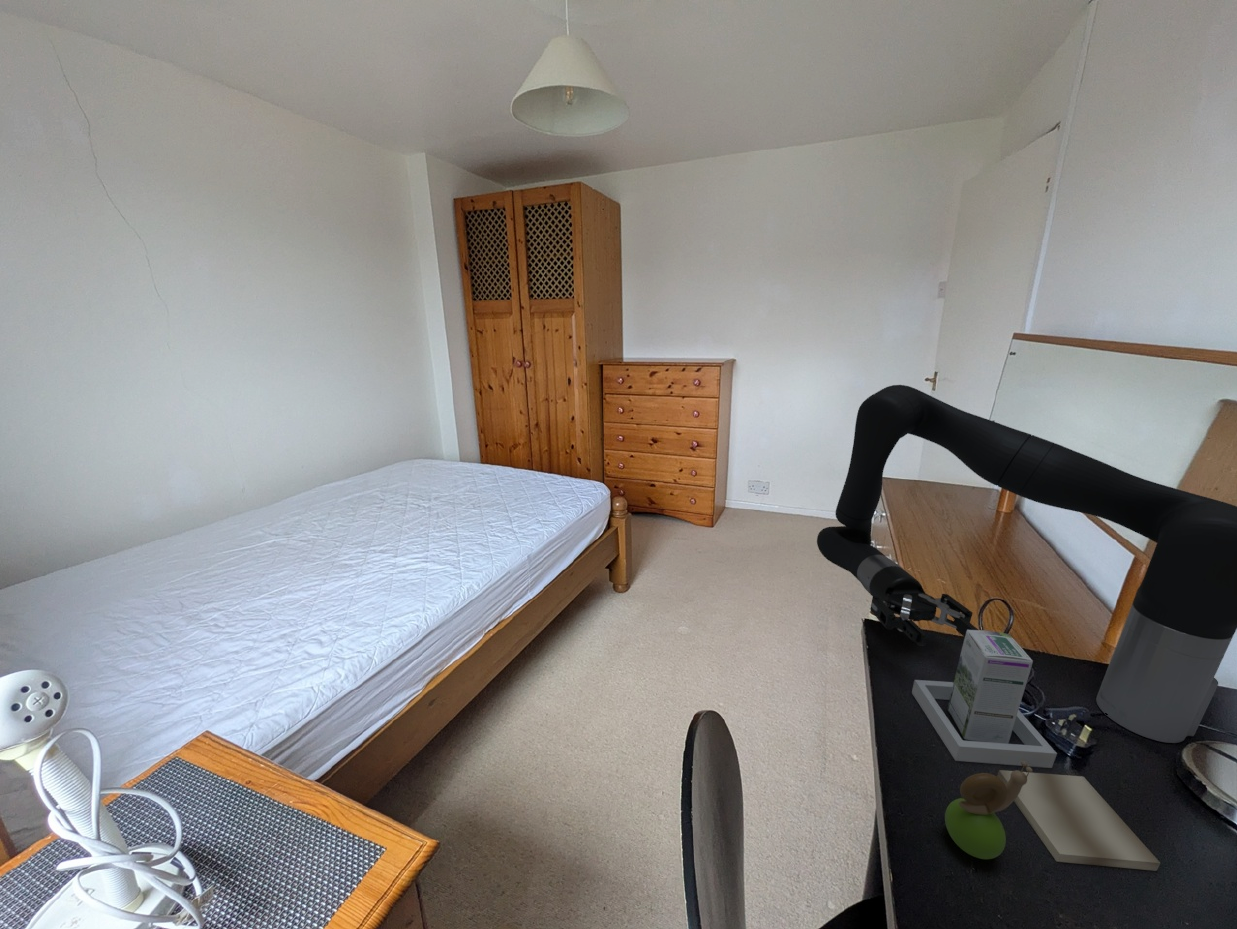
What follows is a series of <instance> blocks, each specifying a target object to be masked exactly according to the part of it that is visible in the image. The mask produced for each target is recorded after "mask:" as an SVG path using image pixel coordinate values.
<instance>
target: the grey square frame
mask: <svg viewBox="0 0 1237 929" xmlns="http://www.w3.org/2000/svg"><path fill="white" fill-rule="evenodd" d="M953 683H954V681H942V680H941V681H940V680H938V681H937V680H924V679H923V680H921V679H914V681H913V685H912V689H911V690H912V691H911V694H912V696H913V697H914V698H915V700H916V702H917V703H918V704H919V706H920V708H921V710H922V712H923V713H924V714H925V716H926V718H927V719H928V720H929V723H930V724H931V725H932V727H933V728H934V729H935V731H936V733H937V735H938V736H939V738H940V739H941V741H942V742H943V744H944V746H945V747H946V748H947V750H948V752H949V753H950V755H951V756H952V758H953V759H954V761H955V762H968V763H980V764H981V763H982V764H994V765H1006V766H1019V767H1020V766H1021V767H1023V766H1022V765H1021V761H1025V762H1026V763H1027V767H1031V768H1033V767H1034V768H1045V769H1053V765H1054V763H1055V760H1056V757H1057V755H1058V753H1057V752H1056V750H1054V748H1053V747H1052V746H1051V745H1050V744H1049V743H1048V741H1047V740H1046V739H1045V738H1044V737H1043V736H1042V734H1041V733H1040V732H1039V731H1038V730H1037V729H1036V728H1035V727H1034V725H1033V724H1032V723H1031V722H1030V721H1029V720H1028V719H1027V718H1026V716H1024V714H1023V713H1022V712H1021V711H1020V710H1018V713H1017V716H1016V720H1015V723H1014V726H1013V730H1012V732H1014V733H1015V734H1016V736H1017V737H1018V738H1019V740H1020V741H1021V742H1022V743H1023V744H1016V743H1008V744H1004V743H990V742H977V741H971V740H963V737H961V736H960V734H959V733H958V731H957V730H956V728H955V727H954V725H953V724H952V722H951V721H950V719H949V718H948V716H946V714H945V712H944V711H943V709H942V708H941V707H940V705H939V704H938V702H937V701H936V700H946V701H949V700H950V695H951V691H952V687H953Z"/></svg>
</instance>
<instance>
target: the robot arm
mask: <svg viewBox="0 0 1237 929" xmlns="http://www.w3.org/2000/svg"><path fill="white" fill-rule="evenodd" d="M855 418H856V420H855V424H854V425H855V426H854V437H853V445H852V450H851V456H850V462H849V466H848V471H847V475H846V478H845V480H844V484H843V487H842V490H841V493H840V496H839V499H838V502H837V505H836V507H835V508H836V509H835V518H836V520H837V521H838V522H839V523H840V524H842V525H843V526H841V525H840V526H835V525H834V526H827V527H824V528H821V530H820V531H819V532H818V534H817V536H816V545H817V547H818V550H819V552H820V554H822V556H823V557H824V558H825V559H826V560H827V561H828V562H831V563H832V564H833V565H836V566H837V567H839V568H841V569H843V570H845V571H847V572H849V573H850V574H852V576H854V578H856V580H857V581H858V582H860V584H861V586H862V587H863V588H864V590H866V591H867V592H868V593H869V595H870V596H871V597H872V598H871V603H870V608H869V609H870V612H872V614H873V615H874V616H875V617H876V619H877V620H878V621H879V622H880V623H881V625H882V626H883V627H884V629H887V630H889V631H892V630H893V629H897V630H898V631H899V632H902V633H904V635H906V636H907V637H908V638H909V639H910V641H911V642H914V643H916V644H917V646H918V647H920V646H921V647H922V646H924V647H925V645H926V642H927V639H928V638H927V637H928V635H927V633H926V632H925V631H924V630H923V629H922V628H921V627H920V626H919V625H917V623H915V622H921V621H926V622H928V621H929V622H932V623H935V624H937V625H939V626H943V625H947V626H948V627H950V628H954V629H955V630H956V631H957V632H958V633H959V634H960V635H962V637H964V638H965V635H966V631H967V630H979V629H978V628H977V627H976V626H975V625H974V624H972V623H971V619H972V616H973V612H972V611H971V610H970V609H968V608H967V607H966V606H964V605H963V604H962V603H960V602H959V601H957V599H955V598H953V597H952V596H951V595H950V594H947V593H942V594H941V597H938V598H935V597H933V596H931V595H929V594H927V593H926V591H925V590H924V588H923V586H922V583H921V582H920V581H919V580H918V579H916V577H914V576H913V575H912V574H910V573H909V572H908V571H906V570H905V568H903V567H902V566H901V565H899V564H898V563H897V562H895V561H893V560H892V559H890V558H889V557H887V556H886V555H885V554H884V553H882V551H880V550H879V549H878V548H876V547H875V546H873V545H872V524H873V523H872V522H873V518H874V515H875V513H876V511H877V508H878V504H879V502H880V499H881V497H882V496H881V495H882V491H883V475H884V470H885V466H886V463H887V461H888V458H889V456H890V455H891V453H892V452H893V449H894V448H895V447H896V445H897V444H898V442H899V441H900V439H902V438H904V437H905V436H906V435H912V436H914V437H918V438H921V439H923V440H926V441H929V442H931V443H934V444H936V445H938V446H940V447H942V448H944V449H945V450H947V451H948V452H950V453H951V454H953V456H955V457H956V458H957V459H958V460H959V461H961V462H962V463H963V465H965V466H966V467H968V469H969V470H970V471H971V472H972V473H974V474H975V475H977V476H978V477H980V478H982V479H983V480H984V481H987V482H988V483H990V484H992V485H994V486H996V487H998V488H1001V489H1002V490H1006V491H1007V492H1009V493H1012V494H1014V495H1017V496H1019V497H1021V498H1024V499H1026V500H1030V501H1033V502H1036V503H1039V504H1042V505H1045V506H1049V507H1054V508H1058V509H1063V510H1068V511H1073V512H1076V513H1082V514H1086V515H1089V516H1095V517H1097V518H1101V519H1104V520H1107V521H1110V522H1112V523H1115V524H1117V525H1119V526H1121V527H1123V528H1126V529H1128V530H1130V531H1132V532H1135V533H1136V534H1139V535H1140V536H1143V537H1144V538H1147V539H1149V540H1150V541H1153V542H1154V543H1156V544H1155V548H1154V551H1153V553H1152V556H1151V559H1150V561H1149V563H1148V567H1147V568H1146V571H1145V573H1144V576H1143V579H1142V581H1141V583H1140V585H1139V586H1138V588H1137V590H1136V593H1135V596H1134V598H1133V601H1132V604H1131V606H1130V608H1129V611H1128V615H1127V616H1126V620H1125V623H1124V625H1123V627H1122V630H1121V633H1120V635H1119V638H1118V640H1117V643H1116V646H1115V648H1114V651H1113V654H1112V655H1111V658H1110V661H1109V664H1108V666H1107V670H1106V671H1105V674H1104V677H1103V679H1102V682H1101V684H1100V687H1099V689H1098V693H1097V695H1096V699H1095V703H1096V704H1097V706H1098V707H1099V709H1100V710H1101V711H1102V712H1103V713H1104V714H1105V713H1107V714H1108V715H1106V716H1107V717H1108V718H1110V719H1111V720H1112V721H1113V722H1115V723H1116V724H1118V725H1119V726H1121V727H1123V728H1124V729H1126V730H1127V731H1130V732H1133V733H1135V734H1136V735H1138V736H1142V737H1145V738H1147V739H1150V740H1154V741H1157V742H1162V743H1168V744H1171V743H1172V744H1177V743H1181V742H1183V741H1185V739H1186V737H1194V736H1195V734H1196V733H1197V731H1198V728H1199V727H1200V723H1201V722H1202V720H1203V717H1204V715H1205V714H1206V712H1207V709H1208V707H1209V705H1210V703H1211V701H1212V698H1213V697H1214V694H1215V692H1216V690H1217V688H1218V686H1219V681H1218V679H1216V678H1215V676H1216V674H1217V672H1218V670H1219V669H1220V668H1219V667H1220V665H1221V663H1222V661H1223V659H1224V657H1225V654H1226V652H1227V650H1228V648H1229V646H1230V644H1231V642H1232V640H1233V638H1234V635H1235V633H1236V631H1237V506H1236V505H1234V504H1231V503H1229V502H1224V501H1221V500H1218V499H1214V498H1210V497H1207V496H1203V495H1199V494H1196V493H1193V492H1188V491H1185V490H1181V489H1178V488H1174V487H1171V486H1167V485H1164V484H1160V483H1157V482H1154V481H1151V480H1148V479H1146V478H1145V479H1144V478H1142V477H1139V476H1136V475H1133V474H1131V473H1128V472H1126V471H1124V470H1121V469H1120V468H1117V467H1115V466H1113V465H1110V464H1107V463H1105V462H1103V461H1101V460H1099V459H1096V458H1092V457H1091V456H1089V455H1086V454H1083V453H1082V452H1081V453H1080V452H1078V451H1076V450H1073V449H1071V448H1068V447H1066V446H1063V445H1061V444H1058V443H1055V442H1054V441H1050V440H1047V439H1044V438H1042V437H1039V436H1037V435H1035V434H1031V433H1028V432H1025V431H1022V430H1019V429H1015V428H1012V427H1010V426H1008V425H1005V424H1001V423H999V422H996V421H994V420H991V419H987V418H984V417H981V416H979V415H976V414H972V413H970V412H967V411H965V410H962V409H960V408H957V407H955V406H953V405H950V404H948V403H947V402H944V401H942V400H940V399H938V398H936V397H934V396H931V395H930V394H928V393H926V392H924V391H921V390H919V389H917V388H914V387H912V386H909V385H904V384H893V385H889V386H885V387H884V388H881V389H880V390H879V391H877V392H875V393H873V394H872V395H869V396H868V397H867V398H866V399H865V400H864V401H863V402H861V404H860V405H859V408H858V410H857V414H856V417H855ZM937 609H939V610H940V615H939V617H938V616H936V613H937ZM896 615H898V616H896ZM948 616H950V617H951V619H949V618H948ZM952 618H953V619H954V620H952Z"/></svg>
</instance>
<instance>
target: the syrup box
mask: <svg viewBox="0 0 1237 929" xmlns="http://www.w3.org/2000/svg"><path fill="white" fill-rule="evenodd" d="M960 651H961V652H960V654H959V655H960V656H959V659H958V663H957V668H956V672H955V674H954V681H953V682H954V683H953V687H952V691H951V695H950V700H948V704H947V708H946V710H947V711H948V713H949V715H950V717H951V719H952V720H953V722H954V724H955V725H956V727H957V729H958V730H959V733H960V734H961V736H962V739H964V740H965V741H977V742H990V743H1004V744H1010V739H1011V736H1012V733H1013V726H1014V723H1015V720H1016V716H1017V713H1018V710H1019V709H1020V706H1021V703H1022V699H1023V696H1024V692H1025V689H1026V686H1027V683H1028V680H1029V676H1030V673H1031V670H1032V666H1033V663H1034V660H1033V659H1032V658H1031V657H1030V655H1028V654H1027V652H1026V651H1025V650H1024V649H1023V648H1022V647H1021V645H1019V643H1018V642H1017V641H1016V640H1015V639H1014V638H1013V637H1012V635H1011V634H1009V633H1005V632H999V631H993V630H983V629H980V630H979V629H978V630H967V631H966V635H965V637H964V639H963V644H962V647H961V650H960ZM1019 711H1020V710H1019Z"/></svg>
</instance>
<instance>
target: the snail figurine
mask: <svg viewBox="0 0 1237 929" xmlns="http://www.w3.org/2000/svg"><path fill="white" fill-rule="evenodd" d="M1021 765H1022V766H1021V767H1022V768H1021V770H1017V769H1015V770H1012V771H1013V772H1012V773H1011V778H1010V780H1009V781H1008V782H1007V784H1006V785H1005V784H1004V782H1003V781H1002V780H1001V779H1000V778H998V777H997V775H994V774H993V773H988V772H978V773H975V774H972V775H970V776H968V777H966V778H965V779H964V780H963V781H962V782H961V785H960V787H959V792H960V796H961V797H960V798H956V799H954V800H953V801H951V802H950V803H949V804H947V805H948V806H947V807H946V809H945V812H944V821H945V822H944V823H945V826H946V830H947V832H948V834H949V836H950V837H951V839H952V840H953V841H954V842H953V843H955V844H956V846H957V847H959V848H960V849H961V850H962V851H963V852H964V853H966V854H968V855H969V856H972V857H974V858H976V859H981V860H992V859H995V858H997V857H998V856H1000V855H1001V854H1003V851H1004V849H1005V848H1006V845H1007V844H1006V843H1007V837H1006V832H1005V829H1004V826H1003V823H1002V821H1001V820H1000V818H999V817H998V815H996V813H998V812H1001V811H1004V810H1006V809H1007V808H1008V807H1009V806H1010V805H1011V804H1012V803H1014V800H1015V799H1016V797H1017V796H1018V794H1019V793H1020V791H1021V788H1022V786H1023V785H1025V784H1026V783H1027V776H1028V774H1029V773H1033V769H1032V768H1033V767H1031V766H1027V763H1026V762H1025V761H1021ZM1024 769H1025V771H1027V772H1028V774H1027V776H1026V775H1025V774H1024V773H1023V772H1024V771H1023V770H1024Z"/></svg>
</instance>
